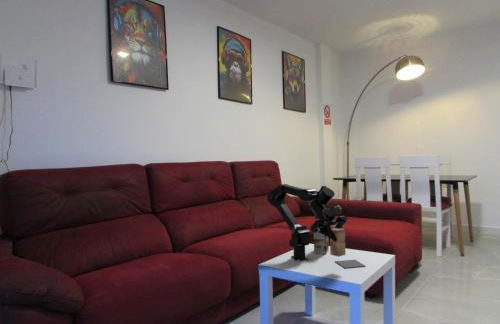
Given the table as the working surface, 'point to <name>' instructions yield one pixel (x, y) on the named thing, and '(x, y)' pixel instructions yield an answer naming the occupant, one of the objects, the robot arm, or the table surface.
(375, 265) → the table surface
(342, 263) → the mat
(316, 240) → the coffee box
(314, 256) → the table surface
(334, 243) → the walnut block
